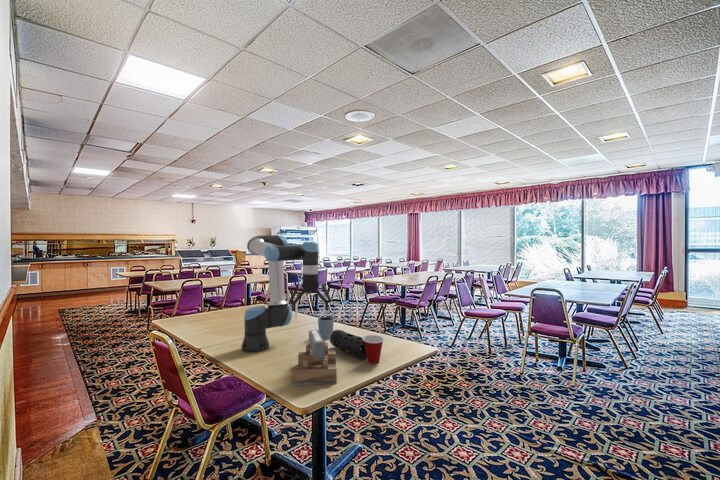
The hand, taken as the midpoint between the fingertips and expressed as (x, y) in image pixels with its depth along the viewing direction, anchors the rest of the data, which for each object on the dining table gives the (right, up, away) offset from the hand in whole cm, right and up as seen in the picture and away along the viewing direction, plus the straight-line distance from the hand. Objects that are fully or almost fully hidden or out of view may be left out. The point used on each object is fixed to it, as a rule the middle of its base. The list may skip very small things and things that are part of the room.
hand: (310, 317), depth 169 cm
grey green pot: (+3, -24, +50) cm, 56 cm away
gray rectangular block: (+4, -14, -9) cm, 17 cm away
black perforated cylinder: (+19, -24, +20) cm, 36 cm away
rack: (+4, -24, -9) cm, 26 cm away
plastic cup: (+31, -24, +5) cm, 39 cm away
